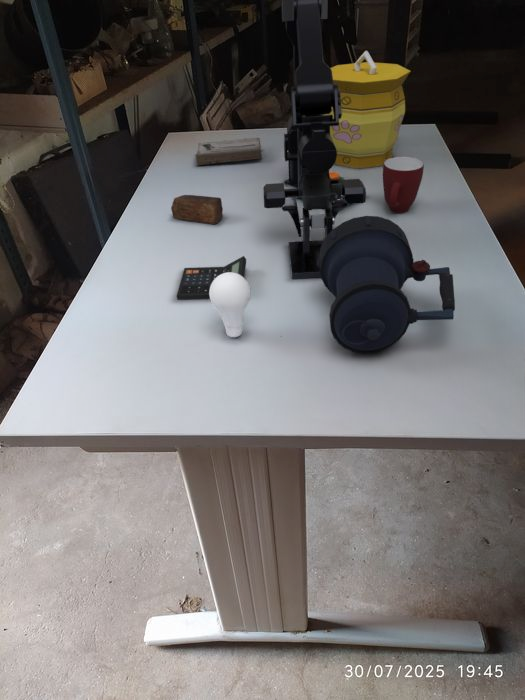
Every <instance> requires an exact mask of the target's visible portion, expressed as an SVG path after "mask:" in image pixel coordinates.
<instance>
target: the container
mask: <svg viewBox="0 0 525 700" xmlns="http://www.w3.org/2000/svg"><path fill="white" fill-rule="evenodd" d="M364 60H365V62H363V61H364ZM330 68H331V70H332V76H333V84H337V86H338V90H339V91H340V96H341V109H342V117H341V119H339V126H330V135H331V138H332V140H333V142H334V145H335V148H336V151H337V158H336V161H335V164H334V165H336V166H340V167H346V168H350V169H351V168H353V169H358V170H360V169H367V168H375V167H381V166H382V167H383V166H384V162H385V161H386V160H387V159H390V158H393V150H394V147H395V144H396V143H397V140H398V136H399V133H400V130H401V126H402V123H403V120H404V117H405V114H406V98H405V93H404V89H403V86H402V85H403V84H404V82H405V80H406V79H407V78H408V76H409V74H410V73H411V70H410V69H408V68H406V67H404V66H402V65H400V64H398V63H385V62H375V61H374V60H373V58H372V56H371V55H370V52H369V51H368V50H365V51H364V52H362V54H361V55H360V56H359V58H358V59H357V60H356V61H355V62H354V63H345V64H344V63H343V64H337V65H335V66H332V67H330ZM324 115H333V118H334V114H333V107H332V112H331V113H330V114H324Z"/></svg>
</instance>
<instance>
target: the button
mask: <svg viewBox="0 0 525 700" xmlns="http://www.w3.org/2000/svg"><path fill="white" fill-rule="evenodd" d="M329 175H330V178H331V179H339V177H340V174H339V173H338V172H336V171H329Z"/></svg>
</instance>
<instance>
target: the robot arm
mask: <svg viewBox="0 0 525 700" xmlns="http://www.w3.org/2000/svg"><path fill="white" fill-rule="evenodd" d="M326 19H327V20H328V0H281V20H282V21H281V22H283V23H284V24H285V31H286V36H287V37H288V39H289V40H290V42H291V44H292V46H293V47H292V50H293V53H292V55H293V62H292V63H293V64H292V65H293V86H290V105H291V116H290V117H289V119H288V121H287V123H286V133H284V134H283V155H284V156H283V157H284V161H285V162H287V163H288V167H287V169H288V179H285V180H284V181H283V182H278V183H276V182H275V183H265V185H264V186H263V208H265V209H281V211H283V212H288V214H289V216H290V217H291V219H292V221H293V224H294V227H295V230H296V232H297V235H298V238H302V227H301V226H300V214H299V207H298V202H297V200H299V199H303V201H302V208H304V209H305V210H308V211H313V210H322V211H325V210H326V209H329V208H330V207H331V211H332V215H333V217H334V219H335V220H336V217H337V216H338V214H339V212H341V211H342V210H341V209H342V208H344V209H346V208H348V207H347V205H348V204H352V205H354V204H355V205H357V204H364V203H366V198H367V189H366V187H365V185H364V183H363V181H362V180H361V179H360V178H349V179H348V178H347V179H345V180H341V179H331V178H330V175H329V172H330V170H331V169H332V168H333V167H334V165H336V164H335V161H336V158H337V151H336V148H335V145H334V142H333V140H332V138H331V135H330V126H339V119H341V117H342V109H341V96H340V91H339V90H338V86H337V84H333V76H332V70H331V68H332V67H330V66H329V65H328V64H327V63H326V62H325V60H324V59H325V58H324V47H323V36H322V33H323V23H324V22H323V21H324V20H326ZM332 107H333V114H334V118H333V115H324V114H330V113H331V112H332ZM285 184H286V185H289V186H292V187H294V188H285ZM295 187H296V188H295ZM347 203H348V204H347ZM340 210H341V211H340Z"/></svg>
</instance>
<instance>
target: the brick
mask: <svg viewBox="0 0 525 700" xmlns="http://www.w3.org/2000/svg"><path fill="white" fill-rule="evenodd" d="M170 210H171V214H172V217H173V218H174V219H177V220H179V221H185V222H194V223H200V224H209V225H217V224H218V223H219V222H220V220H221V219H223V210H224V209H223V202H222V198H221V197H219V196H218V197H216V196H207V195H196V194H195V195H194V194H183V195H179V196H177V197H174V199H173V201H172V203H171V207H170Z"/></svg>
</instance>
